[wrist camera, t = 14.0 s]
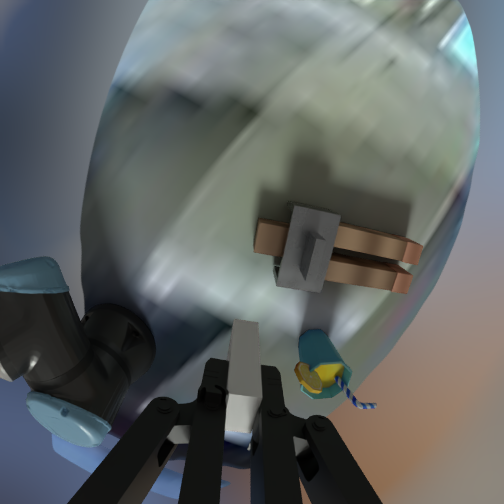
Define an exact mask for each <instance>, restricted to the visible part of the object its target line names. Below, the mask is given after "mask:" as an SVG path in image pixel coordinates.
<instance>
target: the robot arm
mask: <svg viewBox="0 0 504 504" xmlns="http://www.w3.org/2000/svg"><path fill="white" fill-rule="evenodd" d="M155 353H156V347H155V342H154V339H153V336H152V334H151V332H150V331H149V329H148V327H147V326H146V325H145V324H144V322H143V321H142V320H141V319H140V318H139V317H137V316H136V315H135V314H134V313H132V312H131V311H129V310H127V309H125V308H123V307H121V306H118V305H114V304H100V305H97V306H94V307H93V308H91V309H90V310H89V311H88V312H87V313H86V314H85V315H84V317H83V318H82V320H81V321H80V318H79V316H78V314H77V311H76V309H75V306H74V304H73V301H72V298H71V296H70V294H69V286H67V285H66V283H65V280H64V278H63V275H62V272H61V270H60V267H59V265H58V263H57V262H56V261H55V260H54V259H53V258H51V257H46V256H44V257H36V258H30V259H25V260H21V261H17V262H13V263H9V264H5V265H2V266H0V378H3V379H5V380H7V381H10V382H12V381H14V380H15V379H17V378H19V377H20V376H22V375H23V377H24V379H25V380H26V382H27V384H28V385H29V387H30V388H31V392H29V393H28V394H27V399H26V403H27V408H28V410H29V411H30V413H31V414H32V415H33V417H34V418H35V419H36V420H37V421H38V422H39V423H40V424H41V425H43V426H44V427H45V428H46V429H48V430H49V431H50V432H52V433H53V434H55V435H56V436H58V437H60V438H62V439H63V440H65V441H68V442H70V443H72V444H75V445H78V446H83V447H95V446H98V445H100V444H101V443H102V441H103V440H104V438H105V436H106V434H107V432H108V431H110V430H111V426H112V424H113V422H114V419H115V417H116V415H117V413H118V410H119V408H120V406H121V404H122V402H123V399H124V397H125V395H126V393H127V390H128V388H129V386H130V385H131V384H132V383H133V382H135V381H136V380H137V379H139V378H140V377H141V376H142V375H144V374H145V373H146V372H147V371H148V370H149V368H150V367H151V365H152V362H153V360H154V358H155ZM225 430H227V431H234V432H243V433H251V431H252V434H253V435H252V438H251V441H250V444H249V446H248V450H250V469H251V504H303V503H302V495H301V488H300V481H299V478H300V480H301V482H302V484H303V486H304V488H305V490H306V493H307V495H308V497H309V499H310V501H311V503H312V504H383V503H382V502H381V500H380V499H379V497H378V496H377V494H376V492H375V491H374V489H373V488H372V486H371V485H370V483H369V481H368V480H367V478H366V477H365V475H364V474H363V472H362V470H361V469H360V467H359V466H358V464H357V462H356V461H355V460H354V458H353V456H352V454H351V453H350V451H349V450H348V448H347V446H346V445H345V443H344V441H343V440H342V438H341V437H340V435H339V433H338V432H337V430H336V428H335V427H334V425H333V424H332V422H331V421H330V420H329V419H328V418H326V417H324V416H321V415H313V416H310V417H309V418H308V419H303V418H300V417H297V416H294V415H292V414H291V413H290V412H289V410H288V409H287V408H286V407H285V404H284V397H283V389H282V382H281V375H280V372H279V371H278V369H277V368H276V367H275V366H266V365H261V363H260V345H259V327H258V322H251V321H245V320H239V319H234V323H233V328H232V334H231V339H230V344H229V350H228V356H227V361H226V360H220V359H215V358H210V359H209V360H208V361H207V362H206V364H205V369H204V374H203V379H202V383H201V386H200V387H199V389H198V396H197V399H196V400H195V401H193V402H191V403H186V404H178V403H177V402H176V401H175V400H173V399H171V398H168V397H157V398H154V399H153V400H152V401H151V402H150V403H149V404H148V406H147V407H146V408H145V409H144V411H143V412H142V413H141V414H140V416H139V417H138V418H137V419H136V420H135V422H134V423H133V424H132V425H131V427H130V428H129V429H128V430H127V432H126V433H125V434H124V435H123V437H122V438H121V439H120V440H119V442H118V443H117V444H116V445H115V446H114V448H113V449H112V450H111V451H110V453H109V454H108V455H107V456H106V457H105V459H104V460H103V461H102V462H101V464H100V465H99V466H98V467H97V468H96V470H95V471H94V472H93V473H92V475H91V476H90V477H89V478H88V479H87V480H86V482H85V483H84V484H83V485H82V487H81V488H80V489H79V490H78V491H77V492H76V494H75V495H74V496H73V497H72V498H71V500H70V501H69V502H68V503H67V504H141V503H142V502H143V500H144V499H145V497H146V496H147V494H148V492H149V491H150V489H151V488H152V486H153V484H154V483H155V481H156V480H157V478H158V476H159V475H160V473H161V471H162V470H163V468H164V467H165V465H166V463H167V462H168V460H169V458H170V457H171V455H172V453H173V452H174V450H175V448H176V447H177V445H178V444H180V443H189V445H188V451H187V456H186V461H185V467H184V473H183V478H182V484H181V489H180V495H179V501H178V504H219V502H220V489H221V475H222V461H223V448H224V435H225Z"/></svg>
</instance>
